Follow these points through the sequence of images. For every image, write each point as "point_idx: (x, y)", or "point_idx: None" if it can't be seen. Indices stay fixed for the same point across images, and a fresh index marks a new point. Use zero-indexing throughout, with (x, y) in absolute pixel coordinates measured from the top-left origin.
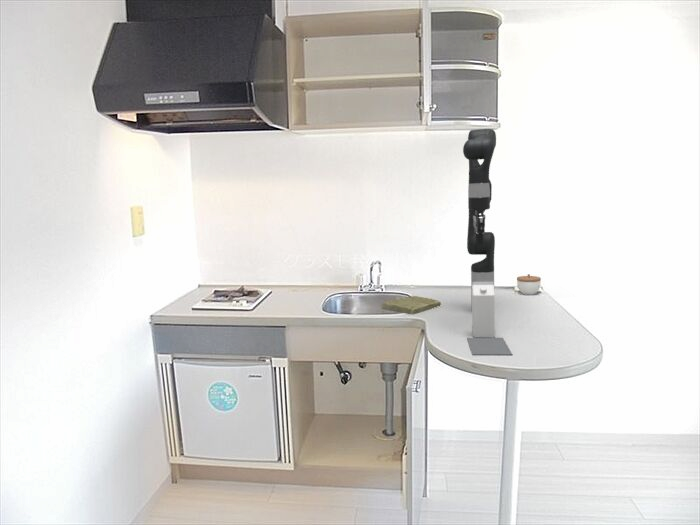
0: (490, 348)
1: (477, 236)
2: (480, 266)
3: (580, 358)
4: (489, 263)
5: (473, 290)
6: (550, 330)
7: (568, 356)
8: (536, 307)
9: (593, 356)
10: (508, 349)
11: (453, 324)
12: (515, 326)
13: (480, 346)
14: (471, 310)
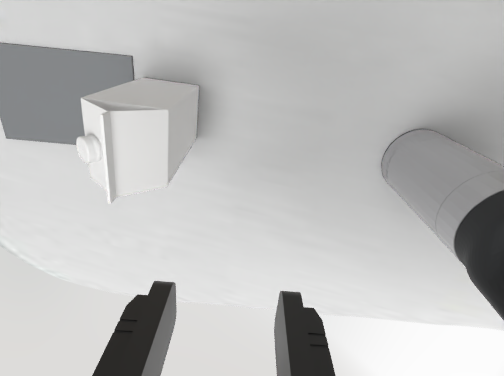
0: (40, 99)
1: (125, 356)
2: (487, 231)
3: (23, 247)
4: (471, 275)
5: (91, 106)
6: (208, 257)
7: (30, 234)
8: (411, 286)
9: (40, 268)
10: (42, 139)
11: (290, 41)
12: (247, 202)
13: (53, 77)
14: (429, 130)
